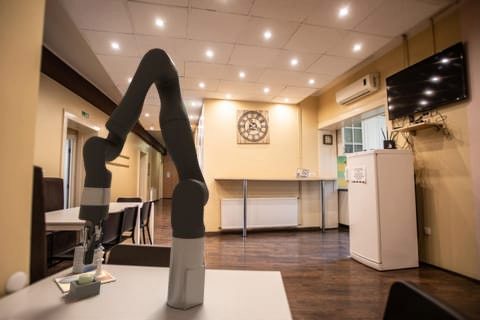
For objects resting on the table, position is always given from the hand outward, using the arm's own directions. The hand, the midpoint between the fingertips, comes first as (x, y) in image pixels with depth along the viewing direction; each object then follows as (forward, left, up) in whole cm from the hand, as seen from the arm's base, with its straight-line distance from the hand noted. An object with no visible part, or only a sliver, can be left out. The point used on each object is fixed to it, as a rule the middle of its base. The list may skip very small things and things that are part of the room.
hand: (87, 263), depth 67 cm
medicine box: (+22, -6, -8) cm, 24 cm away
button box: (0, 0, -8) cm, 8 cm away
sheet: (+10, -3, -8) cm, 13 cm away
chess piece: (+9, -6, -8) cm, 13 cm away
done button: (0, 0, -6) cm, 6 cm away
